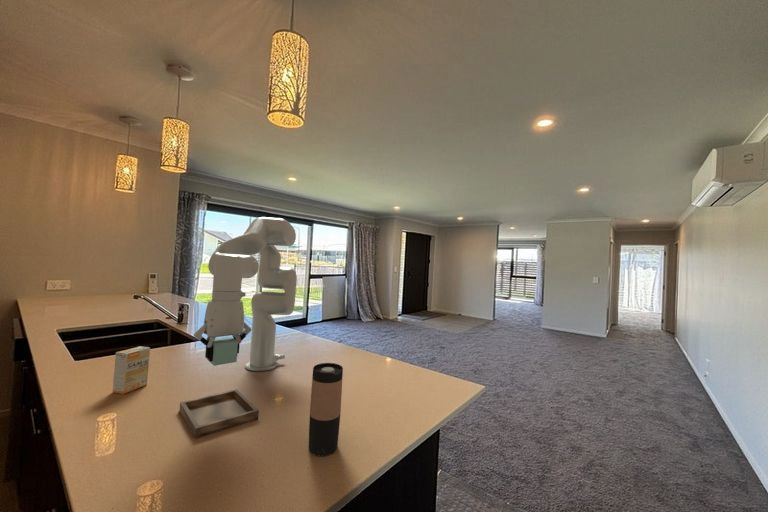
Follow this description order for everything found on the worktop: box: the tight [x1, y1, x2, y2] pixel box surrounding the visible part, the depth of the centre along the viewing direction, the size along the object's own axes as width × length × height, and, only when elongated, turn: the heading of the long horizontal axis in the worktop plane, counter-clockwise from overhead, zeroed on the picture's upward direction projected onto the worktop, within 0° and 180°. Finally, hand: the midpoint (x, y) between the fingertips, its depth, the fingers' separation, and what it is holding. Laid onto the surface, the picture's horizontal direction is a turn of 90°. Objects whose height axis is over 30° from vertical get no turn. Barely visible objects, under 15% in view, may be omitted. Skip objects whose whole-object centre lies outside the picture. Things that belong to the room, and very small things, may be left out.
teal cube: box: [207, 336, 238, 367], centre depth 91 cm, size 6×6×6 cm
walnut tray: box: [179, 389, 260, 439], centre depth 90 cm, size 16×18×2 cm
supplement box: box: [112, 346, 151, 395], centre depth 104 cm, size 8×5×13 cm, turn 168°
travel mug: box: [308, 362, 344, 457], centre depth 78 cm, size 8×8×20 cm
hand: (222, 357), depth 91 cm, fingers closed on teal cube, 6 cm apart
